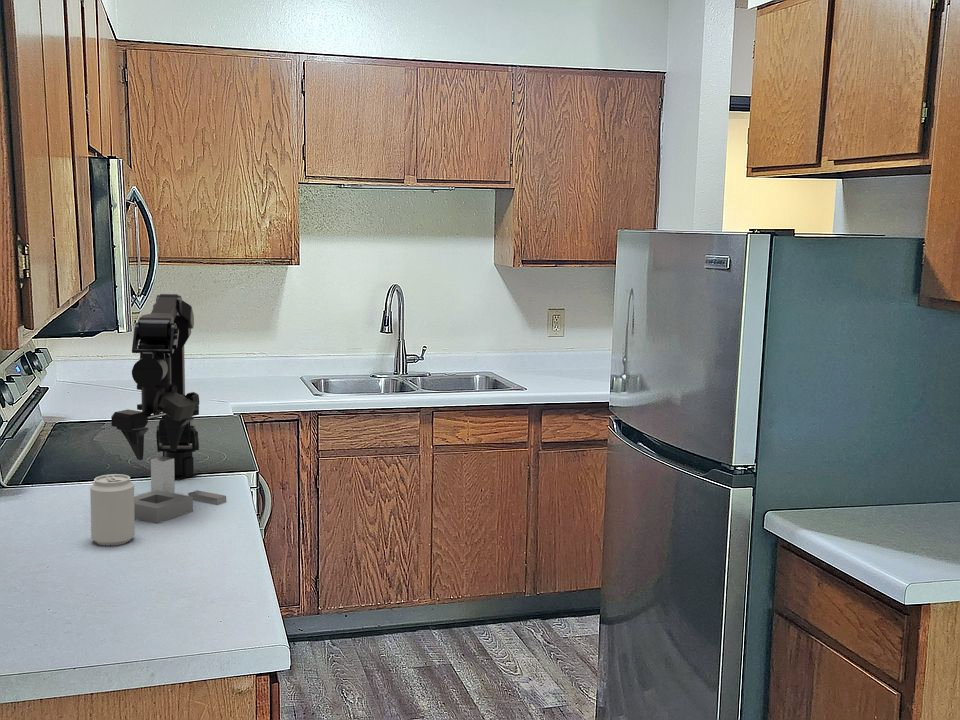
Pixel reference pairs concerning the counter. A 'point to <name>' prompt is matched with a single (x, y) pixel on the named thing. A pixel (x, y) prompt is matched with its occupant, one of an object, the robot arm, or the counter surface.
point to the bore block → (161, 506)
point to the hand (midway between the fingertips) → (157, 455)
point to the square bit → (162, 474)
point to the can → (112, 509)
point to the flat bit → (207, 497)
